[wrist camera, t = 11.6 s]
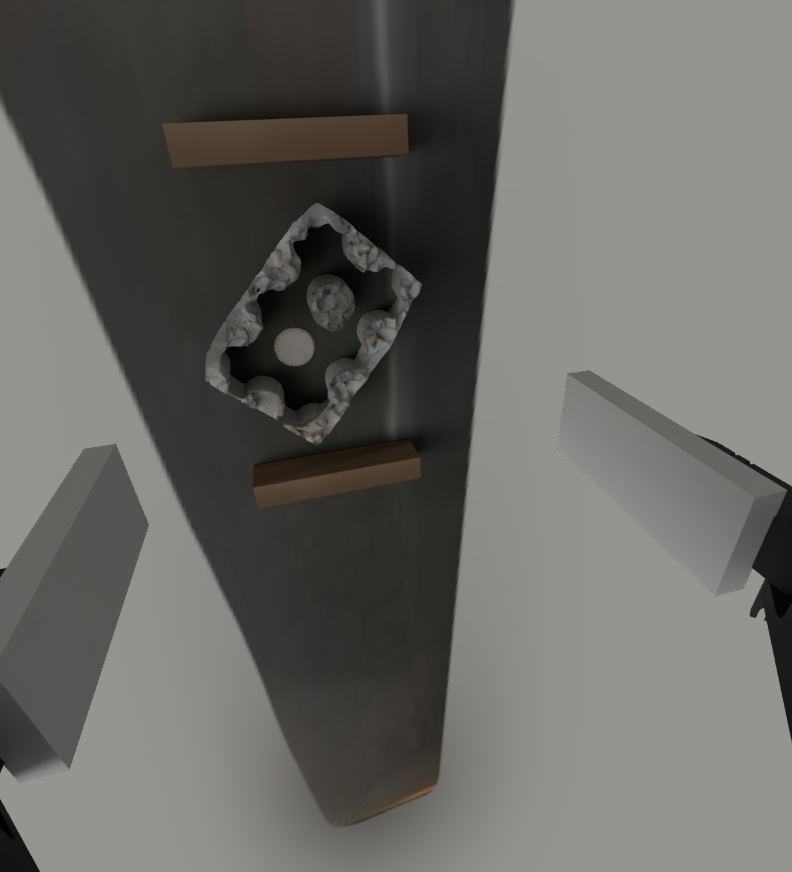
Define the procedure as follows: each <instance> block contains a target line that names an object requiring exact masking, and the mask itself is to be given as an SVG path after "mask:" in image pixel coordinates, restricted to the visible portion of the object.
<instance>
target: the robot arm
mask: <svg viewBox="0 0 792 872" xmlns="http://www.w3.org/2000/svg"><path fill="white" fill-rule="evenodd" d="M557 449H558V450H559V451H560V452H561V453H562V454H563V455H564V456H565V457H566V458H567V459H568V460H570V461H571V462H572V463H573V464H574V465H575V466H576V467H577V468H578V469H579V470H580V471H581V472H582V473H583V474H585V476H587V477H588V478H589V479H590V480H591V481H592V482H593V483H594V484H595V485H596V486H597V487H598V488H599V489H600V490H601V491H603V492H604V493H605V494H606V495H607V496H608V497H609V498H610V499H611V500H612V501H613V502H614V503H615V504H616V505H617V506H619V507H620V508H621V509H622V510H623V511H624V512H625V513H626V514H627V515H628V516H629V517H630V518H631V519H632V520H633V521H635V522H636V523H637V524H638V525H639V526H640V527H641V528H642V529H643V530H644V531H645V532H646V533H647V534H648V535H649V536H651V537H652V538H653V539H654V540H655V541H656V542H657V543H658V544H659V545H660V546H661V547H662V548H663V549H665V550H666V551H667V552H668V553H669V554H670V555H671V556H672V557H673V558H674V559H675V560H676V561H677V562H678V563H680V565H681V566H683V567H684V568H685V569H686V570H687V571H688V572H689V573H690V574H691V575H692V576H693V577H694V578H695V579H696V580H697V581H699V582H700V583H701V584H702V585H703V586H704V587H705V588H706V589H707V590H708V591H709V592H710V593H711V594H713V596H718V595H722V594H726V593H729V592H733V591H737V590H741V589H743V588H744V586H745V584H746V582H747V579H748V577H749V575H750V572H751V570H752V568H753V569H754V570H756V571H757V572H758V573H759V574H761V575H762V576H763V577H764V578H765V580H764V582H763V584H762V587H761V589H760V591H759V593H758V595H757V597H756V599H755V601H754V604H753V606H752V608H751V611H750V616H751V617H754V618H756V616H757V614H758V612H759V610H760V609H762V608H764V610H765V615H766V617H765V619H764V620H765V621H767V625H768V629H769V634H770V639H771V644H772V649H773V654H774V658H775V663H776V668H777V673H778V677H779V682H780V687H781V692H782V697H783V702H784V707H785V711H786V716H787V721H788V726H789V730H790V735H791V740H792V487H791V486H790V485H789V484H787V483H785V482H783V481H782V480H780V479H778V478H777V477H775V476H773V475H772V474H770V473H768V472H767V471H765V470H763V469H761V468H760V467H758V466H756V465H755V464H750V461H748V460H746V459H745V458H743V457H741V456H739V455H735V453H734V452H732V451H731V450H729V449H728V448H726V447H724V446H723V445H721V444H719V443H718V442H715V441H712V440H710V439H707V438H704V437H701V436H698V435H696V434H694V433H692V432H690V431H688V430H686V429H685V428H684V427H682V426H680V425H679V424H677V423H675V422H674V421H672V420H670V419H669V418H667V417H665V416H664V415H662V414H660V413H659V412H657V411H655V410H654V409H652V408H651V407H649V406H647V405H645V404H644V403H642V402H640V401H639V400H637V399H636V398H634V397H632V396H631V395H629V394H627V393H626V392H624V391H622V390H621V389H619V388H617V387H616V386H614V385H612V384H611V383H609V382H607V381H606V380H604V379H602V378H601V377H599V376H598V375H596V374H594V373H593V372H591V371H589V370H588V371H582V372H575V373H569V374H567V379H566V386H565V394H564V401H563V408H562V415H561V423H560V430H559V437H558V445H557ZM148 525H149V524H148V522H147V519H146V517H145V514H144V512H143V510H142V507H141V505H140V502H139V500H138V497H137V495H136V493H135V490H134V487H133V485H132V483H131V480H130V478H129V475H128V473H127V470H126V468H125V465H124V463H123V461H122V458H121V456H120V453H119V451H118V449H117V446H116V444H112V445H106V446H100V447H93V448H87V449H84V450H83V451H82V453H81V454H80V456H79V457H78V459H77V460H76V462H75V463H74V465H73V466H72V468H71V469H70V471H69V473H68V474H67V476H66V478H65V479H64V480H63V482H62V483H61V485H60V487H59V488H58V489H57V491H56V493H55V494H54V496H53V497H52V499H51V500H50V502H49V503H48V505H47V506H46V508H45V509H44V511H43V513H42V514H41V516H40V517H39V519H38V520H37V522H36V523H35V525H34V526H33V528H32V530H31V531H30V533H29V534H28V536H27V537H26V539H25V540H24V542H23V543H22V545H21V547H20V548H19V550H18V551H17V553H16V554H15V556H14V557H13V559H12V560H11V562H10V563H9V565H8V566H7V568H4V569H0V772H1V770H2V767H3V765H4V766H5V767H6V768H7V769H8V770H9V772H10V773H11V774H12V775H13V776H14V777H15V778H16V779H17V780H18V781H19V782H20V783H21V782H25V781H28V780H32V779H36V778H40V777H43V776H47V775H51V774H55V773H58V772H62V771H66V770H69V769H70V766H71V763H72V760H73V757H74V754H75V751H76V748H77V745H78V741H79V738H80V735H81V732H82V729H83V726H84V723H85V720H86V717H87V713H88V710H89V708H90V705H91V701H92V698H93V695H94V692H95V689H96V686H97V683H98V680H99V677H100V673H101V670H102V668H103V664H104V661H105V658H106V655H107V652H108V649H109V646H110V643H111V640H112V637H113V634H114V631H115V628H116V624H117V621H118V618H119V615H120V612H121V609H122V606H123V603H124V600H125V596H126V594H127V591H128V587H129V584H130V581H131V578H132V575H133V572H134V569H135V566H136V563H137V560H138V557H139V554H140V550H141V547H142V544H143V541H144V538H145V535H146V532H147V529H148ZM0 872H40V871H39V869H38V867H37V865H36V863H35V862H34V860H33V858H32V856H31V854H30V852H29V851H28V849H27V847H26V845H25V843H24V842H23V840H22V838H21V836H20V834H19V832H18V831H17V829H16V827H15V825H14V823H13V821H12V820H11V818H10V816H9V814H8V813H7V811H6V809H5V807H4V805H3V804H2V801H1V800H0Z"/></svg>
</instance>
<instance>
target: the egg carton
mask: <svg viewBox="0 0 792 872" xmlns="http://www.w3.org/2000/svg"><path fill="white" fill-rule="evenodd" d="M327 223H329V224H330V225H331V226H332V227H333V228H334V230H335V231H337V232H339V233H341V234H343V235H342V248H343V252H344V254H345V255H346V257H347V258H348V260H350V261H351V262H352V263H353V264H354V265H355V267H356V268H357V269H359V270H360V271H362V272H365V271H366V270H370V271H373V272H378V271H380V270H381V269H382V268H384V267H388V268H390V269H392V270H393V273H392V277H391V285H392V288H393V291H394V292H395V294H396V295H397V298H396V301H395V303H394V304H393V306H392V307H391V308H390V309H389V311H388V312H386V311H383V310H372V311H368V312H367V313H366V314H364V315H363V316H362V317H361V319H360V321H359V323H358V327H357V334H358V337H359V340H360V342H361V344H362V346H361V347H360V349H359V352H358V354H357V356H356V358H355V359H354V360H353V359H351V358H340V359H338V360H335V361H333V362H332V363H331V364H330V365H329V366H328V368H327V370H326V373H325V383H326V386H327V389H328V398H327V399H326V400H325V401H324V402H323V403H322V404H318V403H309V404H306V405H304V406H303V407H301V408H300V409H298V410H297V411H294V410H292V409H290V408H288V407H287V406H285V400H284V390H283V388H282V386H281V384H280V383H279V382H278V381H277V380H275V379H273V378H271V377H267V376H257V377H254V378H252V379H250V380H249V381H248V382H247V383H245V384H244V383H241V382H240V381H238V380H237V379H235V378H234V377H232V376H231V374H230V368H231V365H230V360H229V357H228V356H227V355H226V353H225V352H224V351H225V350H226V348H227V347H229V346H238V347H242V346H248V345H249V344H251V343H252V342H254V341H255V340H256V339H257V337H258V336H259V334H260V332H261V329H263V324H262V314H261V309H260V307H259V304H258V302H257V301H256V300H257V298H258V295H259V294H260V293H265V292H266V291H267V290H276V291H281V290H284V289H285V288H286V287H287V286H288V285H290V284H291V283H293V282H294V281H295V280H297V279H298V276H299V274H300V271H301V261H300V258H299V257H298V255H297V254H296V252H295V250H294V247H293V243H294V241H300V240H305V239H306V237H307V236H308V231H307V230H308V228H309V227H321V226H323V225H325V224H327ZM348 285H349V284H348ZM351 287H352V286H351ZM421 287H422V284H421V283H420V282H419V281H417V279H415V278H414V277H413V276H412V274H411V273H409V272H408V271H407V270H406V269H405V268H403V267H402V266H400V265H398V264H396V263H395V262H394V261H393V260H392V259H391V258H390V257H389V256H388V255H387V254H386V253H385V252H384V251H382V250H381V249H380V248H378V247H376V246H375V245H374V244H373V243H372V242H371V241H370V240H368V239H367V238H366V237H365V236H363V235H362V234H361V233H359V232H358V231H357V230H356V229H355V228H354V227H353V226H352V225H351V224H350V223H349V222H347V221H346V220H345V219H343V218H342V217H340V216H339V215H337V214H336V213H334V212H333V211H331V210H330V209H328V208H326V207H324V206H322V205H320V204H319V203H316V204H314V205H312V206H311V207H310V208H309V209H308V210H307V211H306V212H305V213H304V214H303V215H302V216H301V217H300V218H299V219H298V220H295V221H294V222H293V224H292V225H291V227H290V228H289V230H288V232H287V233H286V234H285V235H284V237H283V238H282V239H281V241H280V242H279V244H278V245H277V246H276V248H275V250H274V252H273V253H272V254H271V255H270V256H269V257H268V259H267V260H266V263H265V265H264V267H263V269H262V270H261V272H260V273H259V274H258V275H257V276H256V277H255V278H254V280H253V281H252V282H251V284H250V286H249V287H248V289H247V290H246V292H245V293H244V295H243V296H242V297H241V299H240V300H239V302H238V303H237V304H236V306H235V307H234V309H233V310H232V311H231V313H230V314H229V315H228V317H227V318H226V319H225V321H224V323H223V324H222V326H221V328H220V330H219V331H218V333H217V335H216V337H215V339H214V340H213V342H212V344H211V346H210V348H209V350H208V352H207V356H206V380H205V381H207V382H208V383H209V384H211V385H213V386H214V387H216V388H217V389H219V390H220V391H222V392H224V393H225V394H229V395H231V396H233V397H235V398H236V399H238V400H240V401H242V402H243V403H245V404H246V405H247V406H249V407H251V408H253V409H256V408H257V409H259V410H260V411H262V412H264V413H265V414H267V415H269V416H271V417H273V418H275V419H276V420H277V421H278V422H279V423H280V424H282V425H283V426H284V427H286V428H287V429H288V430H290V431H292V432H294V433H295V434H297V435H299V436H301V437H303V438H305V439H306V440H308V441H309V442H311V443H312V444H313V445H314V446H317V445H319V444H320V443H321V442H322V440H323V439H324V437H325V436H326V435H328V434H329V433H330V432H331V430H332V429H333V427H334V426H335V424H336V423H337V422H338V421H339V420H340V419H341V417H342V415H343V414H344V413H345V411H346V409H347V408H348V406H349V405H350V402H351V399H352V397H353V396H354V394H355V393H356V392H357V391H358V390H359V388H360V387H361V386H362V385H363V384H364V383H365V382H366V380H367V379H368V377H369V375H370V373H371V371H372V370H373V369H374V368H375V366H376V365H377V364H378V362H379V361H380V360H381V358H382V357H383V356H384V354H385V353H386V352H387V351H388V350H389V349H390V347H391V345H392V343H393V341H394V339H395V337H396V335H397V333H398V331H399V329H400V327H401V325H402V322H403V320H404V318H405V316H406V315H407V312H408V310H409V307H410V304H411V302H412V300H413V299H414V298H416V297H417V295H418V294H419V292H420V290H421ZM258 288H260V291H259V292H258V293H257V291H258ZM306 295H307V303H308V306H309V308H310V311H311V313H312V316H313V318H314V319H315V321H316V322H317V323H318V324H319V325H321V326H323V327H324V328H326V329H327V330H329V331H331V332H338V331H340V330H342V329H343V328H344V326H345V324H346V322H347V320H348V319H349V318H350V316H351V315H352V314H353V312H354V310H355V300H354V295H353V292H352V291H351V290H350V288H349V287H348V286H347V285H346V282H345V281H343V280H342V279H341V278H339V277H337V276H334V275H330V274H325V275H320V276H317V277H316V278H314V279H313V280H312V281H311V282H310V284H309V286H308V289H307V294H306ZM274 349H275V353H276V356H277V358H278V359H279V360H280V361H281V362H283V363H284V364H286V365H289V366H300V365H303V364H306V363H307V362H308V361H309V360H310V359H311V358H312V356H313V354H314V351H315V343H314V339H313V337H312V336H311V334H310V333H309V332H308V331H307V330H304V329H302V328H297V327H291V328H288V329H285V330H283V331H282V332H281V333H279V335H278V336H277V337H276V339H275V344H274Z"/></svg>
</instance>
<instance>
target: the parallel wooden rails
mask: <svg viewBox="0 0 792 872" xmlns="http://www.w3.org/2000/svg"><path fill="white" fill-rule="evenodd" d="M162 126H163V130H164V134H165V138H166V142H167V146H168V150H169V154H170V158H171V162H172V166H173V168H178V169H192V168H209V167H227V166H244V165H261V164H278V163H296V162H313V161H330V160H348V159H365V158H382V157H397V156H402V155H407V154H409V147H408V120H407V114H390V115H365V116H341V117H316V118H291V119H267V120H242V121H217V122H193V123H168V124H162ZM417 478H421V470H420V457H419V455H418V453H417V451H416V450H415V448H414V446H413V444H412V443H411V441H410V439H403V440H398V441H392V442H386V443H380V444H375V445H369V446H363V447H358V448H352V449H346V450H340V451H335V452H329V453H323V454H317V455H312V456H306V457H300V458H294V459H289V460H283V461H277V462H271V463H266V464H260V465H254V473H253V490H254V494H255V498H256V502H257V506H258V509H260V508H265V507H270V506H275V505H281V504H286V503H291V502H296V501H302V500H307V499H312V498H317V497H322V496H328V495H333V494H338V493H343V492H349V491H354V490H359V489H364V488H370V487H375V486H380V485H385V484H391V483H396V482H401V481H406V480H411V479H417Z"/></svg>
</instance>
